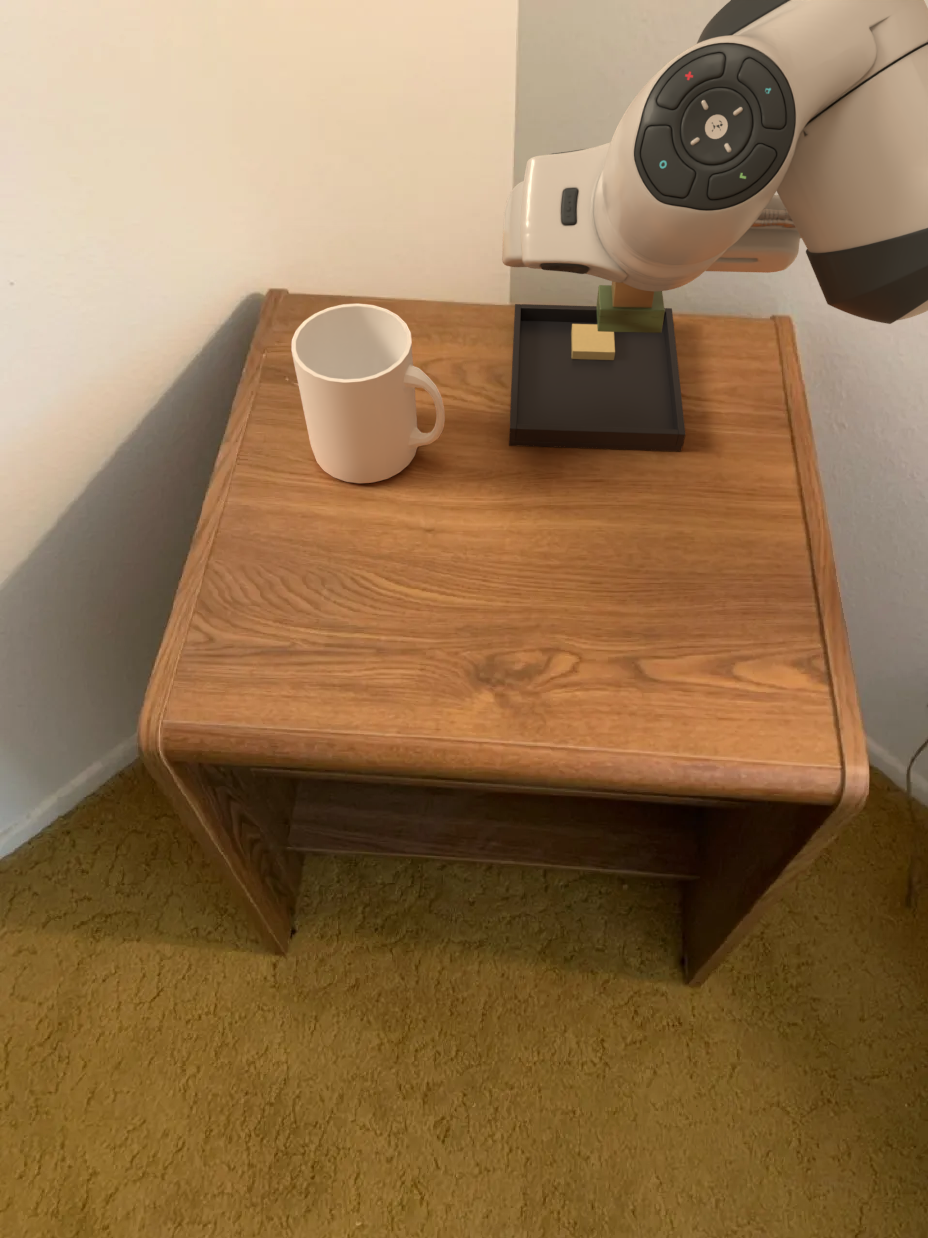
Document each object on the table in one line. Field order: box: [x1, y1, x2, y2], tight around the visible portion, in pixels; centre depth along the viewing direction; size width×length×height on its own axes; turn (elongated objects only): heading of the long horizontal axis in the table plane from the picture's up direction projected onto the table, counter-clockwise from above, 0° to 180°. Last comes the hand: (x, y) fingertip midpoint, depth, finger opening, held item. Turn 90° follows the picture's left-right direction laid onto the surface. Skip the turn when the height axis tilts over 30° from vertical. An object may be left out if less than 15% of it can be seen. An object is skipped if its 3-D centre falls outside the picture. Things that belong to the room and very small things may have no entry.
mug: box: [291, 303, 446, 484], centre depth 77 cm, size 10×12×12 cm
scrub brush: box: [595, 281, 666, 333], centre depth 71 cm, size 5×4×9 cm
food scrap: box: [571, 324, 615, 360], centre depth 88 cm, size 4×4×1 cm
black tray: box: [508, 303, 687, 452], centre depth 86 cm, size 15×17×2 cm
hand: (634, 257), depth 71 cm, fingers closed on scrub brush, 3 cm apart
